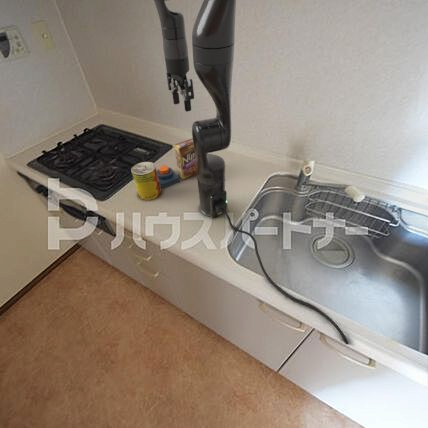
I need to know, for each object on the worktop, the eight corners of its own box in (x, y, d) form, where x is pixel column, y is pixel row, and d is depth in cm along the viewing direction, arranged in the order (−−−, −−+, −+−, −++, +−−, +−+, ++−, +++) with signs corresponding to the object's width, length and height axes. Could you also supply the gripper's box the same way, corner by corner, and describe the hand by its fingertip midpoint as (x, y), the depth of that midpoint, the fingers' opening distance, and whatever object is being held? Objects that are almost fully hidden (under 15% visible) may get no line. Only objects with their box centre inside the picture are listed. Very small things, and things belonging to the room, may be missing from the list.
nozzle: (171, 172, 100) (170, 168, 99) (162, 176, 99) (161, 172, 97) (166, 168, 102) (165, 164, 101) (158, 171, 101) (157, 167, 100)
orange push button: (179, 181, 101) (178, 173, 99) (162, 188, 99) (161, 180, 96) (169, 170, 108) (167, 163, 105) (152, 177, 105) (150, 169, 102)
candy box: (183, 180, 102) (178, 148, 91) (178, 175, 105) (173, 143, 94) (200, 173, 105) (198, 141, 94) (195, 168, 108) (192, 137, 97)
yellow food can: (157, 200, 93) (150, 175, 85) (135, 199, 94) (127, 174, 86) (164, 186, 99) (158, 162, 91) (143, 185, 101) (136, 160, 92)
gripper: (156, 53, 78) (164, 104, 90) (176, 61, 70) (183, 116, 81) (176, 49, 81) (181, 99, 92) (198, 56, 72) (201, 110, 84)
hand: (182, 107), depth 87 cm, fingers open, 8 cm apart
